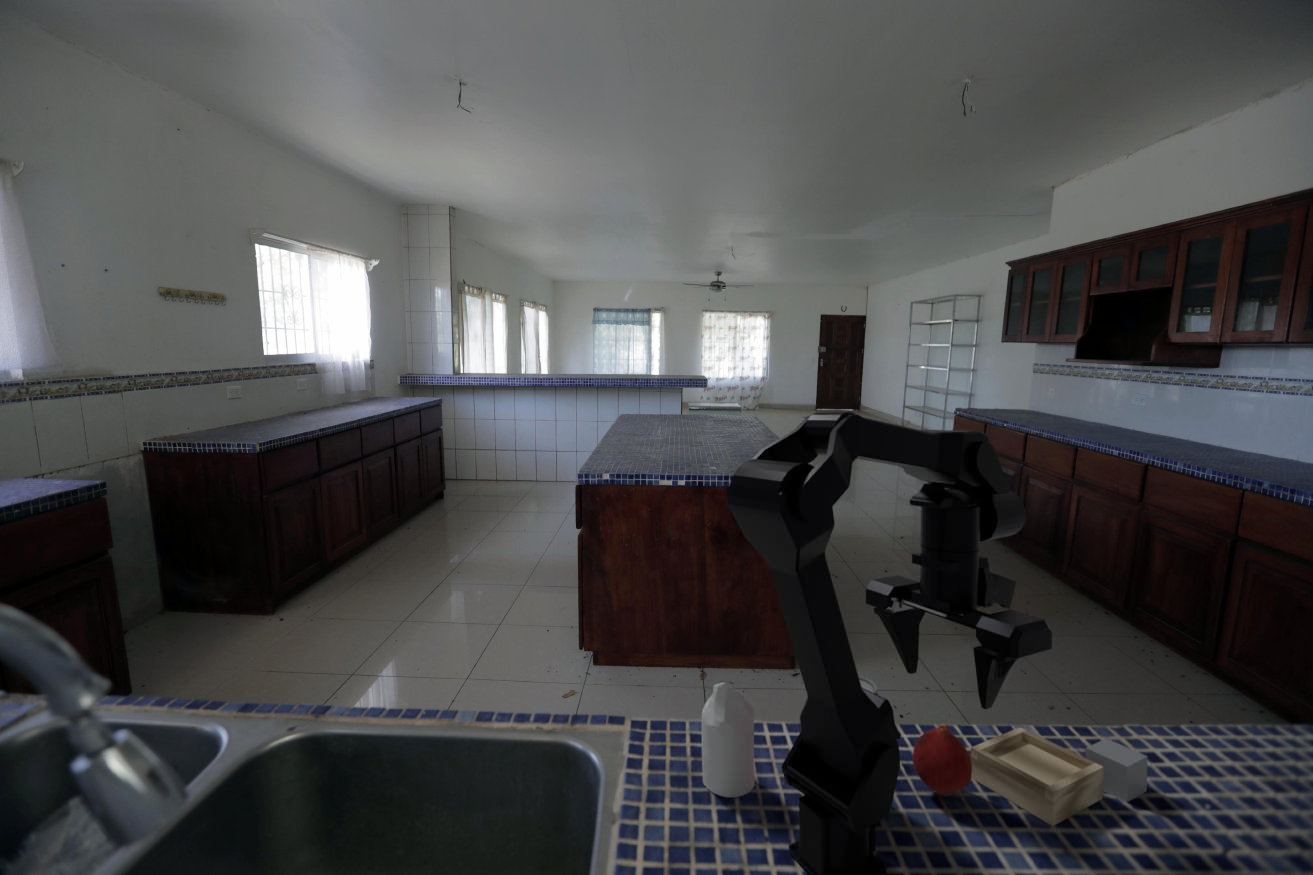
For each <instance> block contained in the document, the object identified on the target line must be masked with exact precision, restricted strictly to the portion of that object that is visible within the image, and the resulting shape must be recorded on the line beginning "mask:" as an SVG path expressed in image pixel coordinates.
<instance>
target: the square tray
mask: <svg viewBox="0 0 1313 875" xmlns="http://www.w3.org/2000/svg"><path fill="white" fill-rule="evenodd" d="M970 759H971V764H972V775H971V779H973V780H974V781H976V782H978V783H979V784H981V785H982V786H985V787H987V789H989V790H991V791H993V792H995V793H997V794H998V795H1000V796H1001V797H1003V798H1005V799H1007V801H1010V802H1011V803H1013V804H1014V805H1017V806H1018V807H1020V808H1021V809H1023V810H1025V811H1026V812H1028V813H1030V814H1031V815H1033V816H1035V817H1037V818H1039V819H1040V820H1042V821H1043V822H1045V823H1047V824H1048V825H1050V826H1051V827H1054V826H1056V825H1057V824H1060V823H1061V822H1063V821H1065V820H1067V819H1069V818H1071V817H1072V816H1074V815H1076V814H1077V813H1079V812H1081V811H1084V810H1085V809H1086V808H1089V807H1091V806H1092V805H1093V804H1095V803H1097V802H1099V801H1101V800H1102V799H1104V791H1103V768H1104V767H1103V766H1101V765H1099V764H1097V763H1094V762H1092V761H1090V760H1088V759H1086V757H1084V756H1082V755H1079V754H1078V753H1075V752H1073V751H1072V750H1070V749H1067V748H1065V747H1063V746H1060V745H1058V744H1056V743H1054V742H1052V741H1050V740H1048V739H1046V738H1044V737H1042V736H1040V735H1037V734H1035V733H1033V732H1031V731H1029V730H1027V729H1025V728H1022V727H1016V728H1015V729H1012V730H1010V731H1007V732H1006V733H1003V734H1000V735H998V736H995V737H993V738H991V739H988V740H985V741H983V742H980V743H978V744H976V745H974V746H971V747H970Z"/></svg>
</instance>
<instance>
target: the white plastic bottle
mask: <svg viewBox="0 0 1313 875" xmlns="http://www.w3.org/2000/svg"><path fill="white" fill-rule="evenodd" d="M712 690H713V692H712V693H711V696H709V698H708V699H707V700H706V702H704V703H705V704H704V707H703V709H702V711H701V764H702V766H701V767H702V784H703V785H704V787H705V786H706V787H705V788H706V789H707V790H709V791H710V792H711V793H714V795H718V796H720V797H724V798H739V797H743V796H746V795H747V794H749V793H751V791H753V789H754V788H755V712H754V711H755V710H754V707H753V705H752V703H750V702H749V701H748V699H746V698H745V696H744V695H743V694H742V693H741V692H740V691H738V690H736V688H735V687H731V686H729V685H727V683H725V682H721V683H716V684H714V685H713V688H712Z"/></svg>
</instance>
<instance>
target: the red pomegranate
mask: <svg viewBox="0 0 1313 875" xmlns="http://www.w3.org/2000/svg"><path fill="white" fill-rule="evenodd" d="M911 760H912V766H913V768H914V771H915V772H916V774H917V775H918V778H919V779H920V780H921V781H922V782H923V784H924V785H926V786H927V787H928V788H930V789H931V790H932V791H934V792H935V793H936V794H937V795H939V796H940V797H949V796H950V795H953V794H957V793H959V792H961V791H962V790H964V789H965V788H966V787H967V786H968V785H969V783H970V781H971V780H972V778H971V775H972V764H971V755H970V753H969V752H968V750H967V748H966V747H965V745H964V743H962V742H961V740H959V738H958V737H956V735H954V734H953V733H951V732H950V726H948V724H946V723H941V724H939V725H938V726H936V727H935V728H931V729H929V730H926V732H924V733H922V735H920V736H919V738H918V739H917V740H916V742H915V744H914V746H913V753H912V759H911Z"/></svg>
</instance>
